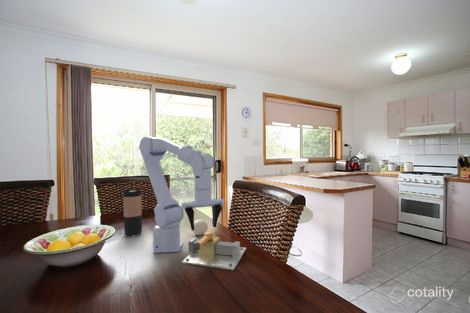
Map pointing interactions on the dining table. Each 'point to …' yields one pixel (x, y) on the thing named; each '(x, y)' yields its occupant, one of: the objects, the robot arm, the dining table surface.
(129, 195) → the travel mug
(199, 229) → the baseball
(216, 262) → the mounting plate
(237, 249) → the pipe valve
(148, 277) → the dining table surface
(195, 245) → the lever
